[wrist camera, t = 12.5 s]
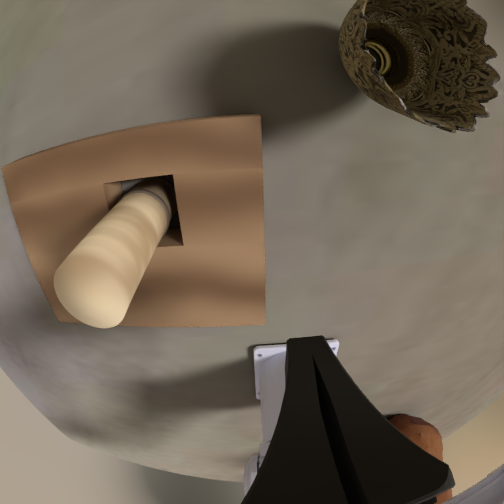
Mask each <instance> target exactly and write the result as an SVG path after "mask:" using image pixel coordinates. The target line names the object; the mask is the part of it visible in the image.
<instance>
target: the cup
mask: <svg viewBox="0 0 504 504" xmlns="http://www.w3.org/2000/svg"><path fill="white" fill-rule="evenodd" d="M467 2H468V1H467V0H357V1H356V3H355V4H354V5H353V7H352V8H351V9H350V11H349V12H348V14H347V15H346V17H345V19H344V21H343V23H342V26H341V29H340V34H339V52H340V56H341V60H342V63H343V65H344V68H345V70H346V72H347V73H348V75H349V77H350V78H351V79H352V81H353V82H354V83H355V85H356V86H357V87H358V88H359V89H360V90H361V91H362V92H363V93H365V94H366V95H367V96H368V97H370V98H371V99H372V100H374V101H375V102H377V103H379V104H381V105H382V106H384V107H386V108H388V109H391V110H393V111H395V112H398V113H400V114H402V115H405V116H407V117H409V118H412V119H414V120H416V121H419V122H421V123H424V124H426V125H429V126H431V127H432V126H434V127H437V128H440V129H442V130H445V131H448V132H451V133H456V130H461V131H467V132H473V131H474V130H475V129H476V124H475V123H476V119H475V117H481V118H483V117H489V116H490V114H489V112H488V111H487V109H486V107H484V106H483V105H481V104H480V103H487V102H488V101H489V100H491V99H494V98H496V97H497V96H498V91H497V90H496V89H494V88H493V85H495V84H496V83H497V82H498V81H499V80H500V75H499V74H498V72H497V71H496V70H495V69H494V68H493V67H492V66H490V65H489V64H488V63H486V61H487V60H489V59H492V58H496V57H497V56H498V55H497V53H496V51H495V50H494V49H493V48H492V47H491V46H490V45H485V44H486V43H485V36H486V34H487V29H488V27H487V22H486V21H485V20H484V19H483V18H482V17H481V16H480V15H479V14H478V13H476V12H475V11H474V10H472V9H471V8H469V7H468V6H466V5H467ZM484 43H485V44H484ZM367 48H370V49H373V50H374V51H376V52H377V53H378V55H379V57H380V60H381V64H380V67H379V68H378V69H377V70H376V68H375V66H376V59H375V58H374V57H373V56H372V55H371V54H370V53H369V51H368V49H367ZM491 85H492V86H491Z"/></svg>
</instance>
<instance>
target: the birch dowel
mask: <svg viewBox="0 0 504 504" xmlns="http://www.w3.org/2000/svg"><path fill="white" fill-rule="evenodd" d="M176 209H177V200H176V193H175V190H174V188H173V187H172V186H171V185H170V184H169V183H168V182H166V181H165V180H162V179H159V178H148V179H145V180H143V181H141V182H140V183H139V184H138V185H137V186H136V187H134V188H133V189H132V190H131V191H130V192H128V193H126V194H125V195H124V196H123V197H122V198H121V199H120V200H119V201H118V203H117V205H115V206H114V207H113V208H112V209H111V210H110V211H109V212H108V213H107V214H106V215H105V216H104V217H103V218H102V220H101V221H100V222H99V223H98V224H97V225H96V226H95V227H94V228H93V229H92V230H91V231H90V232H89V233H88V234H87V235H86V236H85V237H84V239H83V240H82V241H81V242H80V243H79V244H78V245H77V246H76V247H75V249H74V250H73V251H72V252H71V253H70V254H69V255H68V257H67V258H66V259H65V260H64V261H63V262H62V264H61V265H60V266H59V267H58V269H57V270H56V272H55V274H54V288H55V292H56V295H57V297H58V299H59V301H60V302H61V304H62V305H63V306H64V308H65V309H66V310H67V311H68V312H69V313H70V314H71V315H72V316H74V317H75V318H76V319H78V320H79V321H81V322H83V323H85V324H87V325H90V326H93V327H97V328H111V327H114V326H116V325H118V324H119V323H120V322H121V321H122V320H123V318H124V316H125V314H126V311H127V309H128V307H129V305H130V302H131V300H132V298H133V296H134V293H135V291H136V289H137V287H138V285H139V283H140V281H141V278H142V276H143V274H144V272H145V270H146V268H147V266H148V264H149V262H150V260H151V258H152V256H153V254H154V252H155V250H156V248H157V246H158V244H159V242H160V240H161V238H162V237H163V236H164V235H165V233H166V231H167V229H168V227H169V223H170V221H171V219H172V217H173V215H174V213H175V212H176Z"/></svg>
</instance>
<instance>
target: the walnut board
mask: <svg viewBox="0 0 504 504" xmlns="http://www.w3.org/2000/svg"><path fill="white" fill-rule="evenodd" d="M2 171H3V176H4V180H5V184H6V189H7V193H8V196H9V200H10V204H11V207H12V211H13V214H14V217H15V220H16V224H17V227H18V230H19V233H20V235H21V238H22V241H23V244H24V246H25V249H26V252H27V254H28V257H29V259H30V262H31V264H32V267H33V269H34V271H35V274H36V276H37V278H38V281H39V283H40V285H41V287H42V289H43V291H44V293H45V295H46V298H47V300H48V302H49V304H50V306H51V307H52V309H53V311H54V313H55V315H56V317H57V319H58V321H59V322H69V323H81V324H85V323H83V322H81V321H79V320H78V319H76V318H75V317H74V316H72V315H71V314H70V313H69V312H68V311H67V310H66V309H65V308H64V306H63V305H62V304H61V302H60V301H59V299H58V297H57V295H56V292H55V288H54V274H55V272H56V270H57V269H58V267H59V266H60V265H61V264H62V262H63V261H64V260H65V259H66V258H67V257H68V255H69V254H70V253H71V252H72V251H73V250H74V249H75V247H76V246H77V245H78V244H79V243H80V242H81V241H82V240H83V239H84V237H85V236H86V235H87V234H88V233H89V232H90V231H91V230H92V229H93V228H94V227H95V226H96V225H97V224H98V223H99V222H100V221H101V220H102V218H103V217H104V216H105V215H106V214H107V213H108V212H109V211H110V210H111V209H112V208H113V207H114V206H115V205H117V203H118V201H119V200H120V199H121V198H122V197H123V192H122V187H121V181H123V180H130V179H138V178H145V177H153V176H162V175H171V174H173V178H174V186H175V193H176V200H177V207H178V213H179V220H180V226H181V228H177V229H167V231H166V233H165V235H164V236H163V237H162V238H161V240H160V242H159V244H158V246H157V248H156V250H155V252H154V254H153V256H152V258H151V260H150V262H149V264H148V266H147V268H146V270H145V272H144V274H143V276H142V278H141V281H140V283H139V285H138V287H137V289H136V291H135V293H134V296H133V298H132V300H131V302H130V305H129V307H128V309H127V311H126V314H125V316H124V318H123V320H122V321H121V322H120V323H119V324H118V325H116V326H142V327H218V326H246V325H266V309H265V246H264V201H263V164H262V132H261V116H260V115H259V114H244V115H227V116H214V117H203V118H193V119H184V120H176V121H169V122H162V123H156V124H150V125H144V126H138V127H133V128H128V129H123V130H118V131H113V132H108V133H104V134H100V135H96V136H92V137H88V138H84V139H80V140H76V141H73V142H69V143H66V144H62V145H59V146H56V147H52V148H49V149H46V150H43V151H40V152H37V153H34V154H31V155H28V156H26V157H23V158H20V159H18V160H16V161H14V162H12V163H10V164H7V165H5V166H3V167H2Z"/></svg>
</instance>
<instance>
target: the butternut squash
mask: <svg viewBox="0 0 504 504" xmlns="http://www.w3.org/2000/svg"><path fill="white" fill-rule="evenodd" d="M388 421H389V422H390V423H391V424H392V425H393V426H394V427H396V428H397V429H398V430H399V431H400V432H402V433H403V434H404V435H405V436H406V437H408V438H409V439H410V440H411V441H413V442H414V443H415V444H416V445H418V446H419V447H421V448H422V449H423V450H425V451H426V452H428V453H429V454H431V455H433V456H434V457H436V458H437V459H439V460H441V461H442V462H443V457H442V452H443V446H442V439H441V435H440V433H439V431H438V430H437V428H435V427H434V426H433V425H431V424H430V423H428V422H426V421H425V420H423V419H421V418H418V417H413V416H408V415H404V414H402V415H395V416H393V417H392V418H390V419H389V420H388ZM436 498H437V502H436V503H434V504H441V503H443V502H445V501H447V500H449V499H451V498H452V490H451V489H449V490H447V491H445V492H443V493H441V494H439V495H437V496H436Z"/></svg>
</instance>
